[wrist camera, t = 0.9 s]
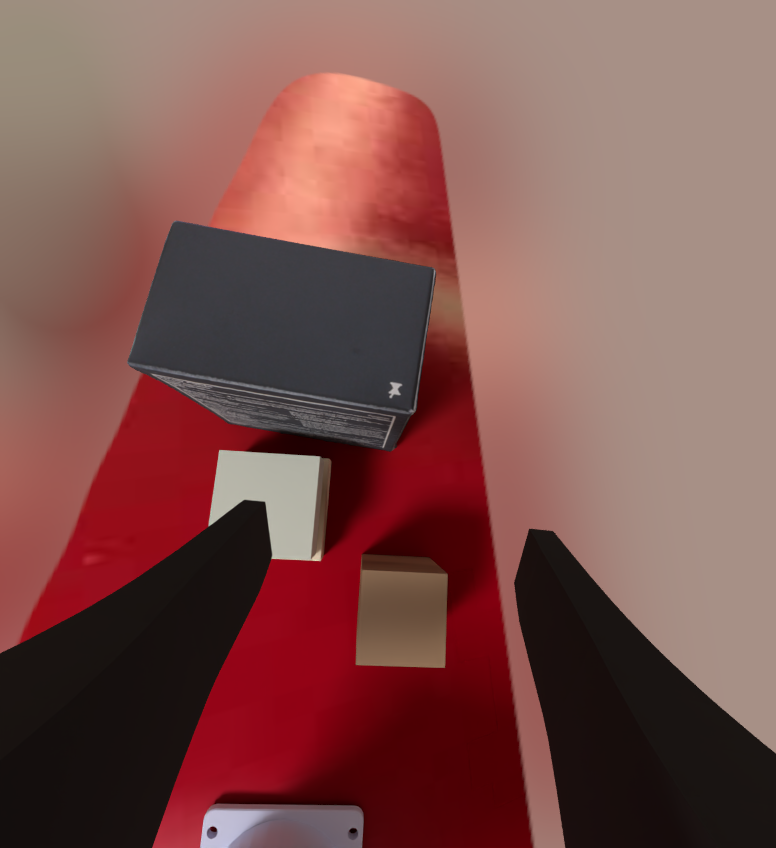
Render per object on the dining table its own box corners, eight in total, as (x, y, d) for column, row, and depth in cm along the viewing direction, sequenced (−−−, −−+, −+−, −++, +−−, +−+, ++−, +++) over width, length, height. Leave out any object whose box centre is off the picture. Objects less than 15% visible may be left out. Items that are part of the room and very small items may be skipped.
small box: (410, 355, 25) (444, 258, 15) (395, 453, 24) (421, 422, 14) (248, 326, 25) (168, 207, 14) (224, 425, 24) (118, 370, 13)
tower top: (316, 553, 21) (310, 560, 19) (221, 548, 20) (204, 554, 18) (324, 460, 22) (320, 456, 20) (233, 455, 21) (219, 450, 19)
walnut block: (426, 629, 22) (445, 667, 17) (356, 627, 22) (355, 664, 17) (429, 557, 23) (447, 573, 18) (362, 553, 23) (362, 569, 18)
